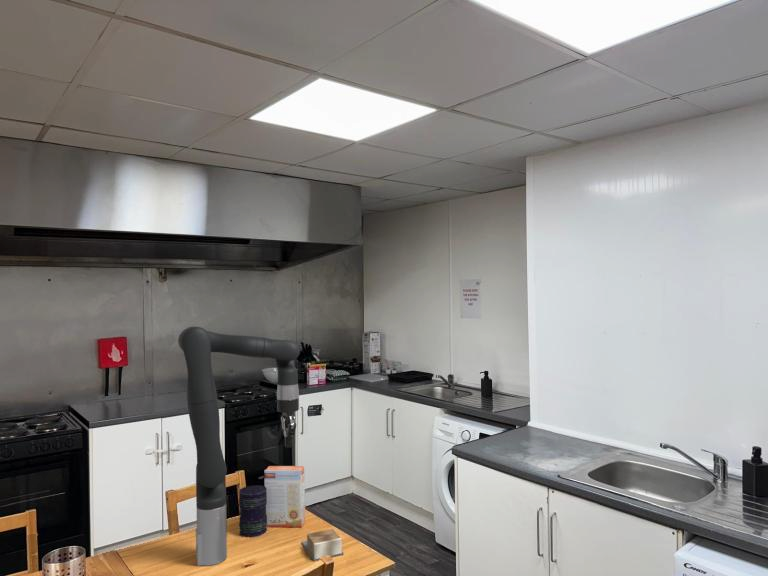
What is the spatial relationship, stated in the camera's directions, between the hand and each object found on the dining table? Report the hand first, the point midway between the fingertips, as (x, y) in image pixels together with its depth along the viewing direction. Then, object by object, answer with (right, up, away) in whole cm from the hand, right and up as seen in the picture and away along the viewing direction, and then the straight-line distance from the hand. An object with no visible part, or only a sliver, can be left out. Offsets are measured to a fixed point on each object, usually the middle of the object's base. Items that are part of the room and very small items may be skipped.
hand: (288, 447), depth 181 cm
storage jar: (-14, -33, +6) cm, 36 cm away
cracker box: (-3, -33, +12) cm, 35 cm away
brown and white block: (+12, -29, -7) cm, 32 cm away
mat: (+13, -31, -8) cm, 35 cm away
